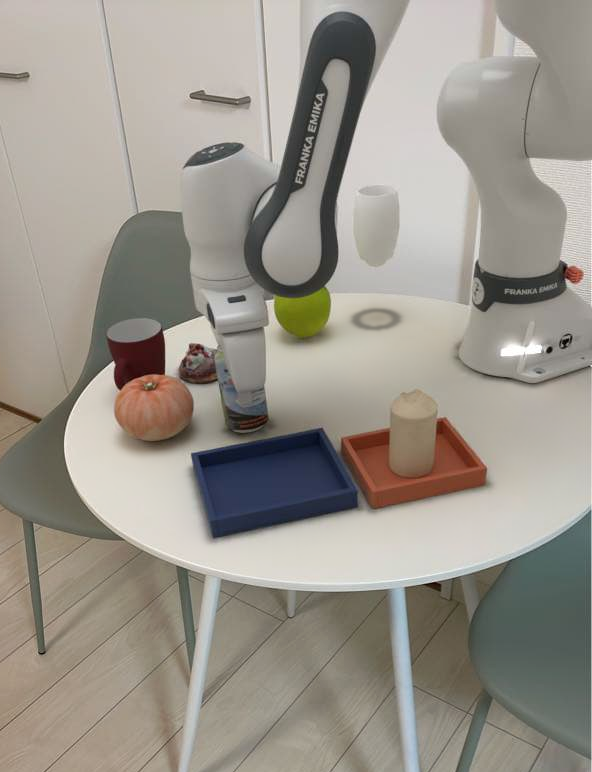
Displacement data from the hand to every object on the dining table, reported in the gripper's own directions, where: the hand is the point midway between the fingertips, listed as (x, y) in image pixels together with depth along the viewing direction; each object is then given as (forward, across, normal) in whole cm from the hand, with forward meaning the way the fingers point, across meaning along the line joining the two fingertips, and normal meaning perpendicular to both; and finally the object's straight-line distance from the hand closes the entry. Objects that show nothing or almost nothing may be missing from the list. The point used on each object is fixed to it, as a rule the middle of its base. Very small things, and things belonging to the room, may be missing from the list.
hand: (239, 389), depth 102 cm
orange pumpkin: (+6, -2, -12) cm, 13 cm away
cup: (+5, -25, +28) cm, 38 cm away
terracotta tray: (+5, +18, +18) cm, 26 cm away
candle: (+5, +18, +18) cm, 26 cm away
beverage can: (+5, +1, 0) cm, 5 cm away
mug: (+6, -13, -13) cm, 19 cm away
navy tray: (+5, +16, 0) cm, 17 cm away
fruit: (+5, -24, +15) cm, 29 cm away
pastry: (+6, -17, -3) cm, 18 cm away
